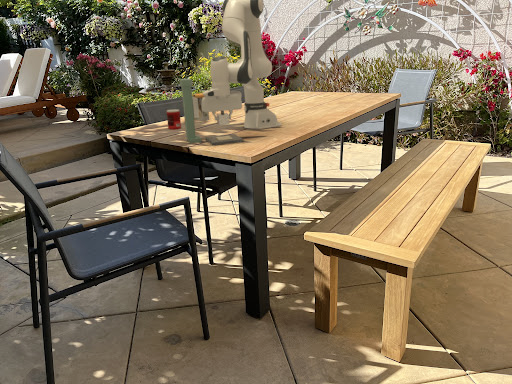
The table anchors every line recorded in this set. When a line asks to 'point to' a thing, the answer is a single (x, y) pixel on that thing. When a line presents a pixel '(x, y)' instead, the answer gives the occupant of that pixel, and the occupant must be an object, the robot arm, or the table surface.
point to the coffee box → (201, 112)
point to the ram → (196, 104)
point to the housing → (223, 118)
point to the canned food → (173, 119)
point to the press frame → (188, 111)
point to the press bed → (224, 139)
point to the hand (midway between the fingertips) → (222, 119)
